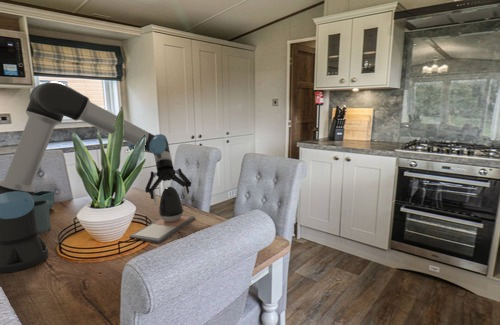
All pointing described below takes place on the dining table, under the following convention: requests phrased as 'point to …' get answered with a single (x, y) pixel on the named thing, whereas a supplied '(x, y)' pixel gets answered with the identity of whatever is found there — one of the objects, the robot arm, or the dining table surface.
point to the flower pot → (45, 197)
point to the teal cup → (42, 215)
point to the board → (161, 229)
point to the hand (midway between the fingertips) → (172, 202)
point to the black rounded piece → (170, 205)
